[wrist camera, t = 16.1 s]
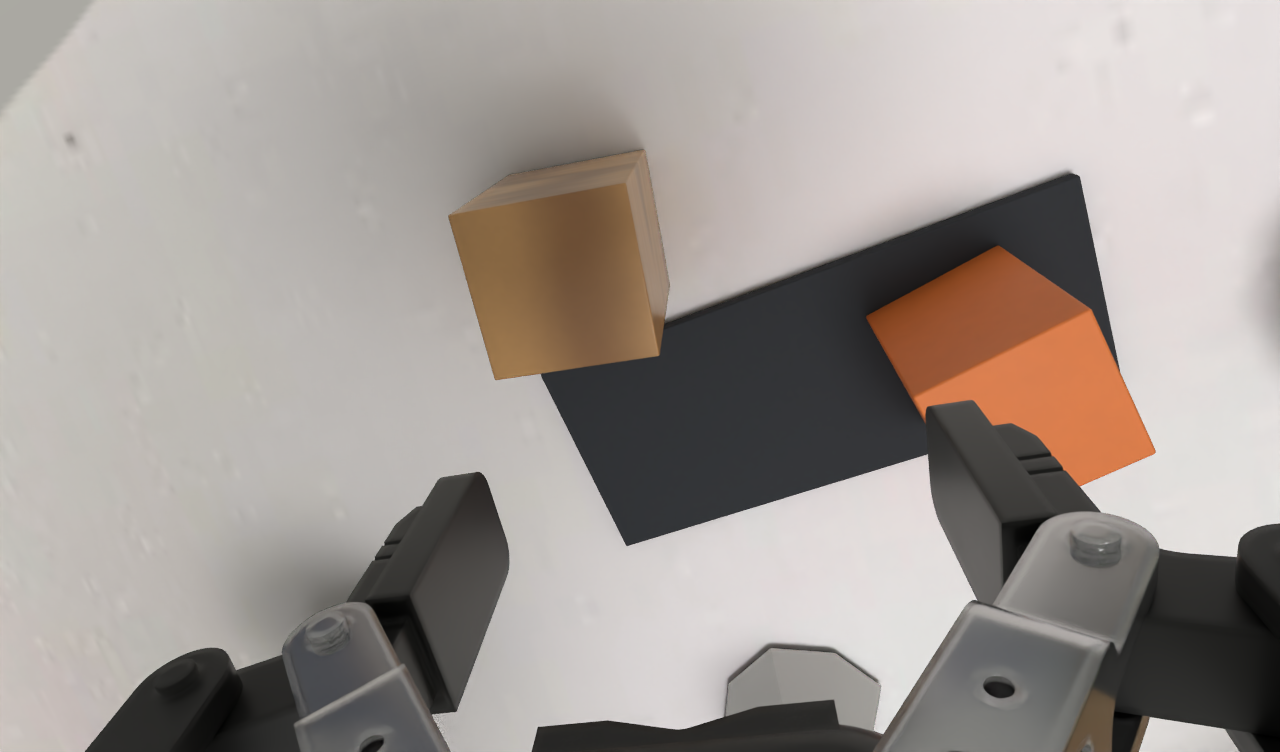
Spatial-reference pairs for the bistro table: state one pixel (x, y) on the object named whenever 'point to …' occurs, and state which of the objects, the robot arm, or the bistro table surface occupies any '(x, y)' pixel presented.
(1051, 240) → the mat
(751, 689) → the flask
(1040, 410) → the orange block
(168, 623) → the bistro table surface
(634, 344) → the oak block
